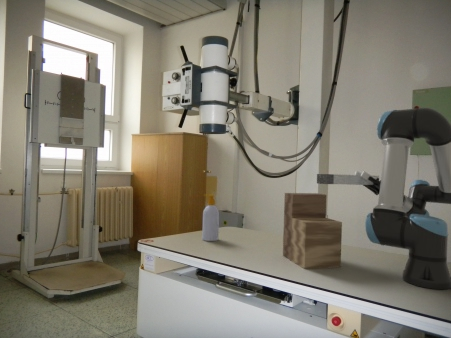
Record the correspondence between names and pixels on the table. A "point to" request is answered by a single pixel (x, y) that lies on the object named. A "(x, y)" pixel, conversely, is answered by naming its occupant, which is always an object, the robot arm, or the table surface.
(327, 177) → the steel bar
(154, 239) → the table surface
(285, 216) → the walnut step stand
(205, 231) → the soap bottle
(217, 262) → the table surface
